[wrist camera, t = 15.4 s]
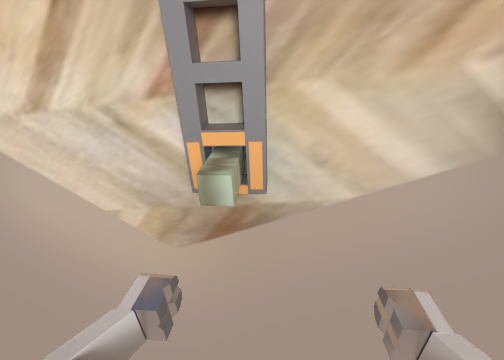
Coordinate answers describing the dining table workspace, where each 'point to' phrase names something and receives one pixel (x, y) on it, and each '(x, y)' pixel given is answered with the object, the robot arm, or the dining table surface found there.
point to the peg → (221, 176)
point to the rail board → (196, 73)
